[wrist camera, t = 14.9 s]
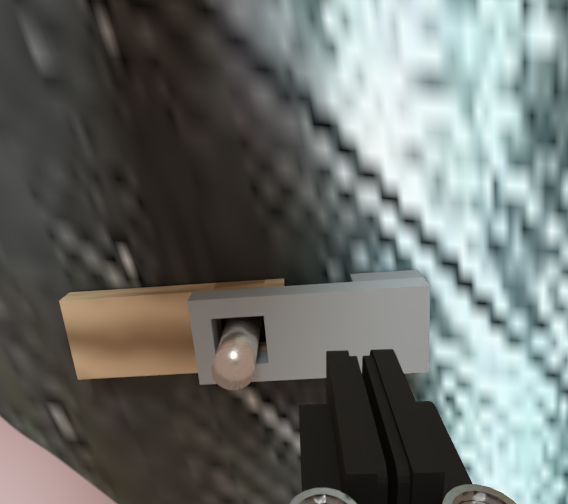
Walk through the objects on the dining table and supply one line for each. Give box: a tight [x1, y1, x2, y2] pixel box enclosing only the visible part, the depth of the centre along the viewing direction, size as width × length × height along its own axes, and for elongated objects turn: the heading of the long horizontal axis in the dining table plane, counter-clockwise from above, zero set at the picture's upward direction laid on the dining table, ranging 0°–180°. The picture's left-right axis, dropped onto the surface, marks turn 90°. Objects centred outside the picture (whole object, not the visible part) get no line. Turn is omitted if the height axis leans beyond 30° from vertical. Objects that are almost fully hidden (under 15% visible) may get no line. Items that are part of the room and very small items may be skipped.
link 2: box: [187, 270, 430, 385], centre depth 40 cm, size 8×20×4 cm, turn 94°
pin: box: [211, 316, 262, 390], centre depth 38 cm, size 3×3×9 cm
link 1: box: [59, 278, 285, 380], centre depth 42 cm, size 8×20×2 cm, turn 94°
